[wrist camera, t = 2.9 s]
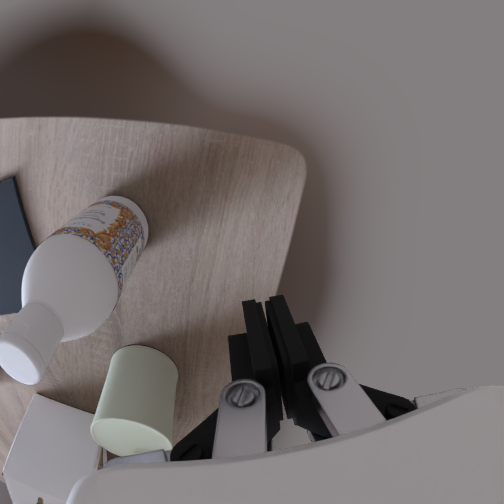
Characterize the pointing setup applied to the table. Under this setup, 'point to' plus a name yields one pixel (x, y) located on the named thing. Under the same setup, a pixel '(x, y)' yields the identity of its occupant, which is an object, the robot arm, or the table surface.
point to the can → (136, 402)
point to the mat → (13, 247)
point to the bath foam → (73, 284)
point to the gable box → (51, 453)
